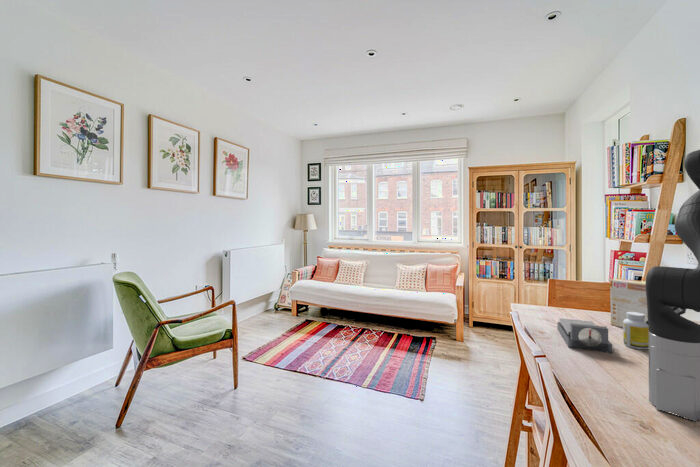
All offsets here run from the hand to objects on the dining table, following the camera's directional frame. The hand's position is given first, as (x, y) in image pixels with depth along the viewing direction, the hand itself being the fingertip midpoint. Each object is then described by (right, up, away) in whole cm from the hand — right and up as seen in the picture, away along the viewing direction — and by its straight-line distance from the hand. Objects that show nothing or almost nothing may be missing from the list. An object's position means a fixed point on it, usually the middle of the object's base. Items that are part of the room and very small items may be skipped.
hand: (650, 322), depth 101 cm
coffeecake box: (+14, -9, +19) cm, 26 cm away
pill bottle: (-2, -10, +3) cm, 10 cm away
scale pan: (-15, -6, +11) cm, 20 cm away
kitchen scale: (-16, -10, +10) cm, 21 cm away
